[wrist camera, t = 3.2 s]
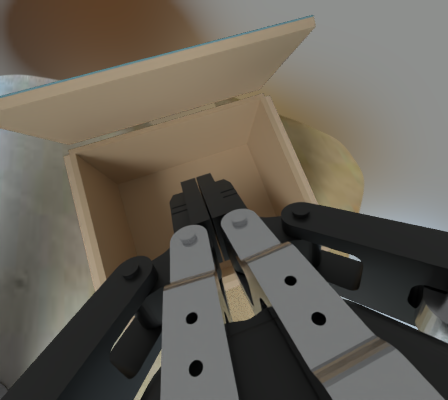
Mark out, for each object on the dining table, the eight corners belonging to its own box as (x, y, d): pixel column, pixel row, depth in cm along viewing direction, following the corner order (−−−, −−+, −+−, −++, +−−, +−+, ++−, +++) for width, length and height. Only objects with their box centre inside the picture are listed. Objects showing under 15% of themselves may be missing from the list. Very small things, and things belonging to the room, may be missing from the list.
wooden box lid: (315, 26, 16) (313, 14, 15) (-35, 119, 13) (-41, 106, 13) (259, 89, 27) (258, 83, 27) (69, 144, 25) (66, 138, 25)
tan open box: (297, 249, 36) (337, 247, 24) (143, 307, 33) (105, 336, 22) (252, 139, 40) (268, 91, 28) (110, 184, 37) (62, 151, 25)
